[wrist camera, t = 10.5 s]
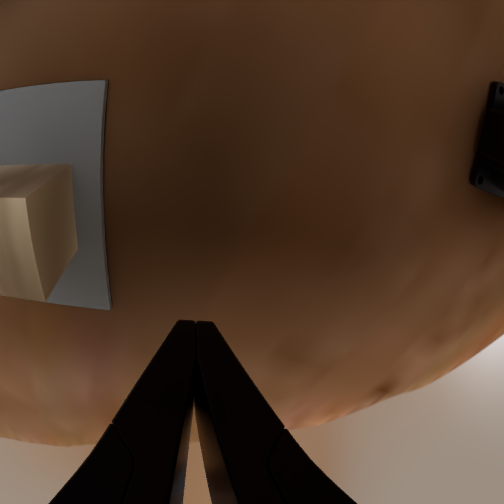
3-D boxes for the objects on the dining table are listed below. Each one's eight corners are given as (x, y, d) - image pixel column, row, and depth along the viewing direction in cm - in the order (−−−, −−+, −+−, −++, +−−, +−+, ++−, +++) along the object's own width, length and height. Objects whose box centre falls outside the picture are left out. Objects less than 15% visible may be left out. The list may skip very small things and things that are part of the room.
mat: (108, 80, 10) (105, 79, 10) (111, 305, 15) (110, 310, 15) (-55, 103, 8) (-59, 105, 8) (-27, 285, 13) (-30, 289, 13)
